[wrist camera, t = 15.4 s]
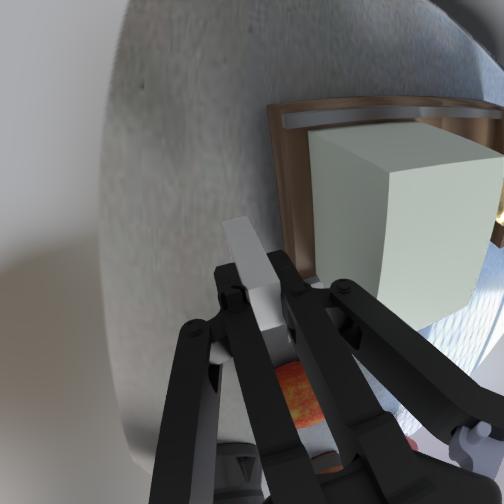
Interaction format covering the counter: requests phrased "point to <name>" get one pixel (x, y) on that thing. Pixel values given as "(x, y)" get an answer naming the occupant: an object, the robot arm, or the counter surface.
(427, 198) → the cover
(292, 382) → the apple
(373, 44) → the counter surface
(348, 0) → the counter surface
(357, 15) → the counter surface
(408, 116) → the housing base
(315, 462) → the mug
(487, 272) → the counter surface
